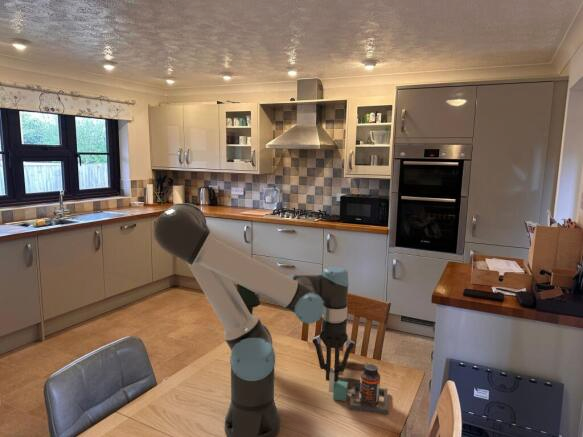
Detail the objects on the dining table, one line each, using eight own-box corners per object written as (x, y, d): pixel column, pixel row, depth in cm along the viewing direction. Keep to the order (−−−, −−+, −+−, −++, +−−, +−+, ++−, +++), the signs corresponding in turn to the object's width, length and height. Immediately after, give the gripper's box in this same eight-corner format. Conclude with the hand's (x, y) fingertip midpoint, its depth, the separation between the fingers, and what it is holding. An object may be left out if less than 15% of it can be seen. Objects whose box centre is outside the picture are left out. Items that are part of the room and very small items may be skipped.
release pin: (333, 399, 127) (333, 387, 126) (334, 391, 130) (334, 380, 130) (354, 402, 125) (355, 390, 125) (355, 394, 129) (355, 383, 128)
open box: (331, 384, 135) (331, 376, 134) (335, 367, 146) (335, 359, 145) (366, 389, 133) (367, 380, 132) (367, 371, 144) (368, 363, 143)
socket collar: (349, 409, 122) (349, 404, 122) (352, 388, 133) (352, 384, 132) (387, 414, 120) (387, 409, 120) (387, 393, 130) (387, 389, 130)
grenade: (258, 364, 146) (259, 283, 142) (234, 364, 147) (234, 283, 142) (260, 353, 155) (261, 276, 150) (237, 352, 155) (237, 275, 150)
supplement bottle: (357, 404, 125) (359, 369, 123) (361, 393, 130) (362, 360, 128) (377, 408, 123) (379, 373, 121) (380, 398, 128) (382, 364, 126)
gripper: (356, 315, 127) (353, 386, 131) (314, 311, 130) (312, 380, 133) (355, 325, 120) (351, 399, 123) (311, 320, 122) (309, 393, 126)
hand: (331, 389), depth 128 cm, fingers closed
